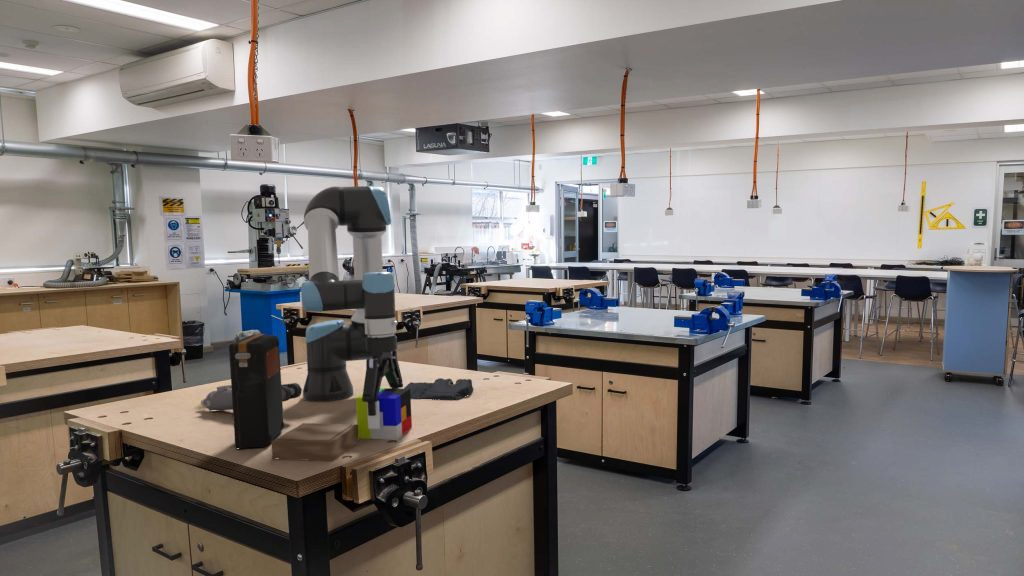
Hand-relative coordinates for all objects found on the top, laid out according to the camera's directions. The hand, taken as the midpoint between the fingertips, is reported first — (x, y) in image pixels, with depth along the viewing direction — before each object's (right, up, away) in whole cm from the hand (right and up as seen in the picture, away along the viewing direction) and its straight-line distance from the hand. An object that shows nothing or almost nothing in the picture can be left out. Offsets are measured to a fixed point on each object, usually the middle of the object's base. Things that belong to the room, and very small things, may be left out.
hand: (385, 420), depth 156 cm
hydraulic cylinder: (-43, -3, +22) cm, 48 cm away
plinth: (-13, -4, -11) cm, 18 cm away
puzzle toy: (0, -3, +1) cm, 3 cm away
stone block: (-54, -1, +55) cm, 77 cm away
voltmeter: (-30, -4, -2) cm, 30 cm away
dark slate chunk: (+8, -1, +40) cm, 41 cm away
